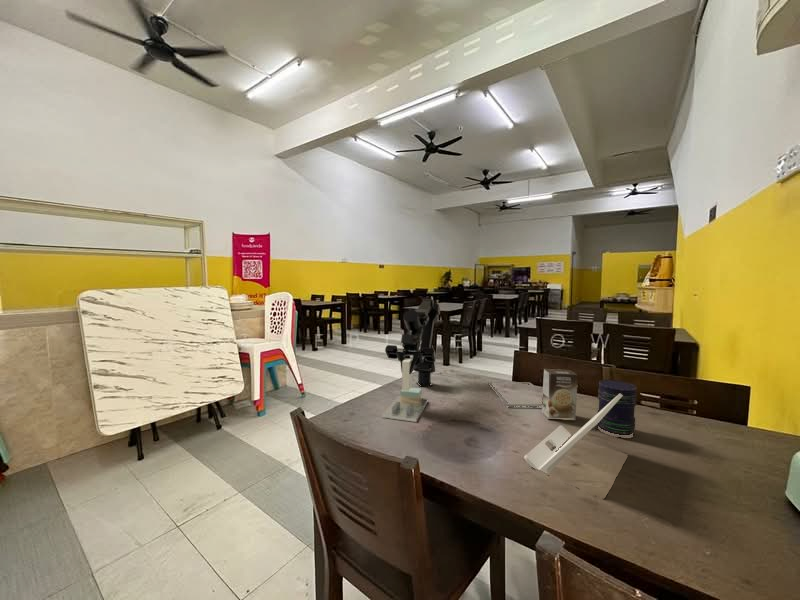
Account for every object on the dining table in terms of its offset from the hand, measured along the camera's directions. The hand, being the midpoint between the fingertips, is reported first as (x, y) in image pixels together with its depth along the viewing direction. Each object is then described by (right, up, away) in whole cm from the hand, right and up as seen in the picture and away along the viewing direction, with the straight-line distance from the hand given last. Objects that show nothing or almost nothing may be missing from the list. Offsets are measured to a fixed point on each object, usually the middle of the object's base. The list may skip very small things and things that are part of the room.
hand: (406, 373), depth 114 cm
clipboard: (+47, -14, +18) cm, 52 cm away
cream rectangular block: (0, -6, +2) cm, 6 cm away
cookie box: (+53, -14, -4) cm, 55 cm away
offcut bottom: (+2, -12, +8) cm, 15 cm away
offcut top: (+2, -10, +8) cm, 13 cm away
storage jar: (+65, -15, -15) cm, 69 cm away
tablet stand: (+44, -16, -31) cm, 57 cm away
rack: (0, -13, +2) cm, 14 cm away
